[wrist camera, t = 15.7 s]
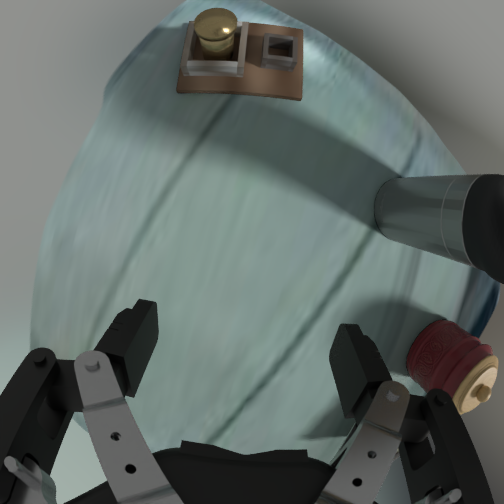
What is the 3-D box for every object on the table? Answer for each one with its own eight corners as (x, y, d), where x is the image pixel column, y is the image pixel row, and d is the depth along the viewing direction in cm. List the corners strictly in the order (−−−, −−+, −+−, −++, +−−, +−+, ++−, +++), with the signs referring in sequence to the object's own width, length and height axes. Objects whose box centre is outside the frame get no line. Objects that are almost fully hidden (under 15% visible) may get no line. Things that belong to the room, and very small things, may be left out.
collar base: (301, 33, 30) (308, 19, 26) (300, 101, 32) (308, 90, 28) (190, 25, 28) (186, 10, 24) (177, 93, 31) (171, 81, 27)
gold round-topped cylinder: (237, 41, 29) (239, 9, 21) (233, 68, 30) (234, 38, 22) (203, 39, 28) (198, 7, 20) (197, 66, 29) (190, 36, 21)
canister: (463, 328, 41) (521, 366, 24) (429, 381, 43) (476, 430, 26) (431, 308, 39) (500, 353, 22) (392, 370, 41) (444, 432, 24)
